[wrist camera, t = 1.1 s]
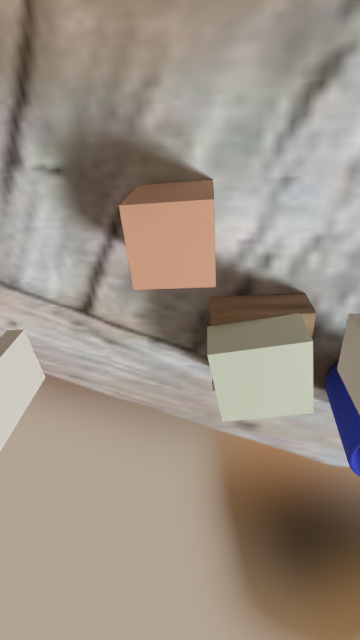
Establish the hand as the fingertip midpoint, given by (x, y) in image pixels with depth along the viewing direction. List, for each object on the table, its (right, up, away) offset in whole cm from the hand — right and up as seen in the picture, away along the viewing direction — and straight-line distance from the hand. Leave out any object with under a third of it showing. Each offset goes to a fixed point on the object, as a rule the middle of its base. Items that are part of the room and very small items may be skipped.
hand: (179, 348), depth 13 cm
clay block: (0, +10, +14) cm, 17 cm away
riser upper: (+7, -2, +17) cm, 18 cm away
